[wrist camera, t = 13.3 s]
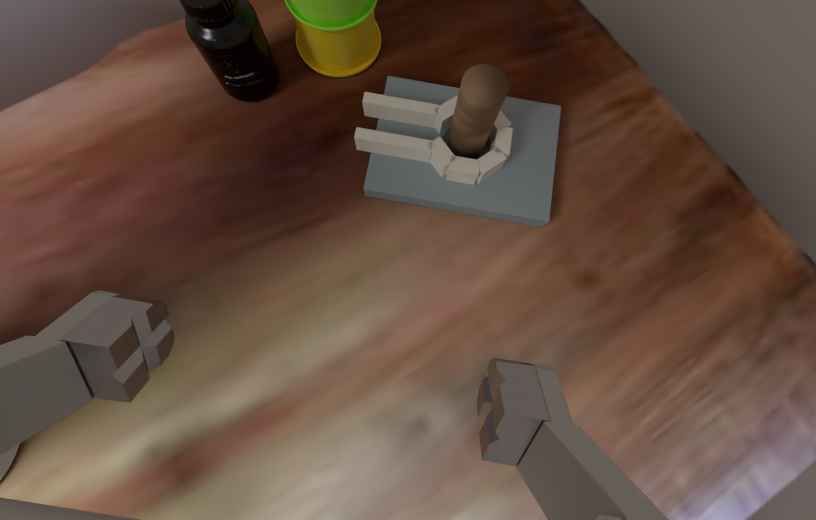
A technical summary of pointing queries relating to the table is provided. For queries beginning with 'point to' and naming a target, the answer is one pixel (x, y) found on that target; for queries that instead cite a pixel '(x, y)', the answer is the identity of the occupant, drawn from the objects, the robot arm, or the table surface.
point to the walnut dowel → (476, 109)
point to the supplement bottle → (233, 46)
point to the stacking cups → (336, 35)
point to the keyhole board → (495, 192)
